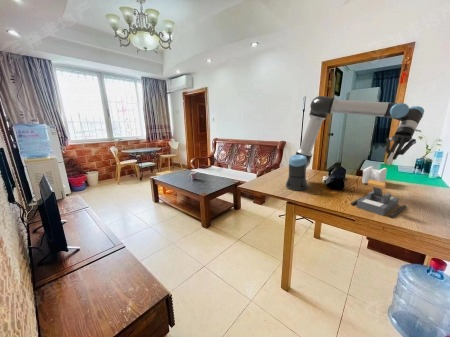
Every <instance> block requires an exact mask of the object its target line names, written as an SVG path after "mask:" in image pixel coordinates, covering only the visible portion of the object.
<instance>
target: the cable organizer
mask: <svg viewBox="0 0 450 337" xmlns="http://www.w3.org/2000/svg"><path fill="white" fill-rule="evenodd" d="M387 171H388V169H387V168H386V167H384V168H381V169H374V166H368V167H366V168H364V169H363V170H362V178H361V179H362V180H361V183H362V184H368V183H367V182H368V181H369V180H374V181H379V182H384V183H386V179H387V177H386V176H387Z"/></svg>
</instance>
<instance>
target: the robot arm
mask: <svg viewBox="0 0 450 337" xmlns="http://www.w3.org/2000/svg"><path fill="white" fill-rule="evenodd" d="M309 107H310V111H309V114H308V116H309V121H308V124H307V126H306V129H305V131H304V135H303V138H302V141H301V144H300V147H299V149H297V150H296V151H295V154H292V155H291V156H289V159H288V178H287V180H286V183H285V187H287V188H286V189H288V188H289V189H288V190H290V189H292V190H291V191H296V190H298V192H301V191H306V190H308V186H309V184H308V182H307V179H306V177H307V176H306V175H307V168H308V167H309V165H311V164H310V163H311V160H312V157H313V154H312V150H313V148H314V146H315V142H316V140H317V137H318V136H319V131H320V130H321V127H322V124H323V122H324V120H326V119H327V117H328V115H332V114H333V113H335V114H336V113H337V114H346V115H348V114H349V115H360V116H371V117H372V116H373V117H382V118H383V117H384V118H390V119H393V120H397V121H399V122H400V123H399V125H398V127H397V129H396V130H395V133H394V135H393V136H391V137H390V138H389V137H386V138H385V140H386V145H385V146H386V147H385V152H386V154H387V156H386V158H387V161H386V165H387V166H391V165H392V163H393V162H394V161H395V160H397V159H398V156H400V155H401V156H404V154H406V153H407V151H408V150H409V149H410V148H411V147H412V146H413V145H415V144H416V143H417V139H415V138H413V135H414V134H415V132H416V130H417V129H418V128H417V127H418V126H419V124H420V122H421V121H422V118H423V117H424V115H425V114H424V113H425V110H424V108H423V107H422V106H419V105H416V106H415V105H413V106H410V107H409V105H408V104H407V103H404V102H389V101H387V102H384V101H367V100H352V99H351V100H350V99H349V100H348V99H337V98H336V97H329V96H325V95H318V96H316V97H315V98H313V99H312V100H311V102H310V106H309ZM392 141H393V143H392ZM391 143H392V144H391ZM391 145H392V146H391Z"/></svg>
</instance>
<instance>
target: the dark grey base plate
mask: <svg viewBox="0 0 450 337" xmlns="http://www.w3.org/2000/svg"><path fill="white" fill-rule="evenodd" d="M367 195H368V194H366V195H364V196H362V197H358V199H355V200H354V201H352V202H350V206H353V205H355V204H357V201H358V200H360V199H362V198H364V197H366V196H367ZM406 208H407V205H405V204H403V205H402V206H400V207H399V208H397V209H396V210H395V211H393V212H392V213H391V214H390V215H389V217H390V218H392V219H393V218H395V216H397V215H398V214H399V213H400V212H402V211H404V209H406Z"/></svg>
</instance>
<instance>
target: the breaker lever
mask: <svg viewBox="0 0 450 337" xmlns="http://www.w3.org/2000/svg"><path fill="white" fill-rule="evenodd" d="M366 184H367V186H368V187H372V188H373V190H374V197H375V198H379V199H381V197H382V196H384V195H385V194H383V190H385V188H386V186H387V185H386V184H387V183H386V182H379V181H374V180H369V181H368V182H367V183H366Z"/></svg>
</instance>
